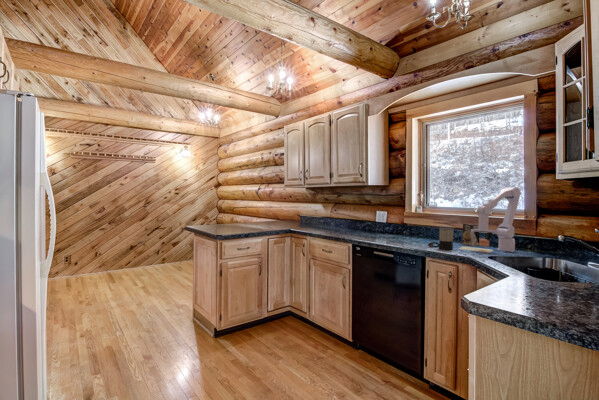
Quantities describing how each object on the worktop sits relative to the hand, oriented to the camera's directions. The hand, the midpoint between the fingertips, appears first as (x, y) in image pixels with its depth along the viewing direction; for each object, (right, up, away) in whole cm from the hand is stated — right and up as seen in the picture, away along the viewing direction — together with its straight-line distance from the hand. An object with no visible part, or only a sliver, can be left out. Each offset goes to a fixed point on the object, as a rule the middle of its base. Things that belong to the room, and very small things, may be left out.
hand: (482, 243), depth 207 cm
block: (0, -1, 0) cm, 1 cm away
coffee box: (+5, -5, +25) cm, 26 cm away
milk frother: (-25, -5, +8) cm, 27 cm away
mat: (-2, -5, +4) cm, 7 cm away
